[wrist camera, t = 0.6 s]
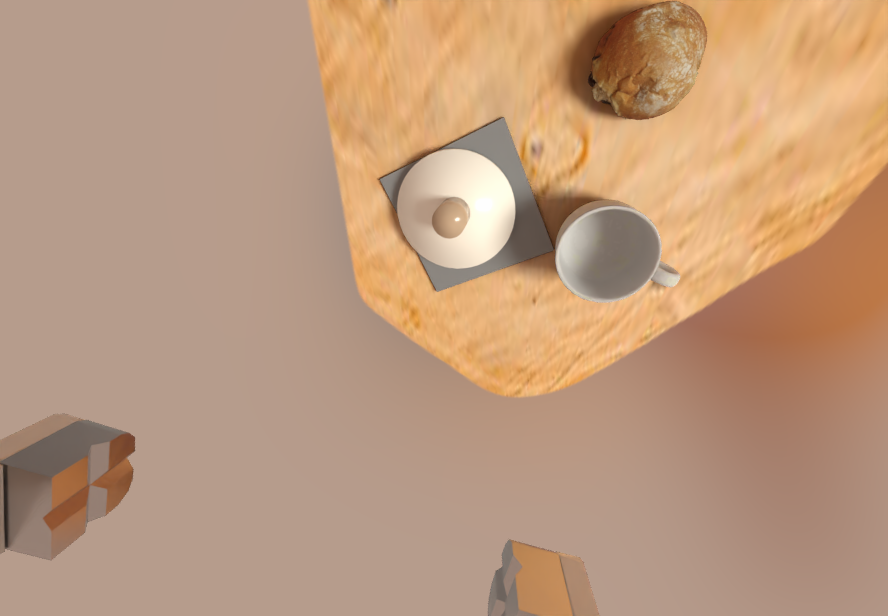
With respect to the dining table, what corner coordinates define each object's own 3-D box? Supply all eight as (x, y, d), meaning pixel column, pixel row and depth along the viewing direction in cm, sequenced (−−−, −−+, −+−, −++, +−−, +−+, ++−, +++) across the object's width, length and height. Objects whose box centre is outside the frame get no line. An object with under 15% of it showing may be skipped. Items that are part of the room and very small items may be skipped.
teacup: (536, 246, 53) (535, 270, 46) (591, 172, 48) (599, 186, 41) (624, 302, 54) (636, 333, 48) (688, 235, 49) (712, 260, 42)
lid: (487, 125, 48) (481, 129, 43) (533, 241, 53) (532, 256, 48) (379, 179, 53) (364, 188, 49) (431, 279, 58) (421, 295, 54)
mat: (503, 117, 47) (503, 117, 47) (553, 249, 53) (553, 250, 53) (380, 178, 53) (379, 179, 53) (437, 290, 59) (437, 291, 59)
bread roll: (658, 115, 47) (714, 117, 40) (576, 122, 45) (620, 126, 38) (676, 9, 43) (743, -9, 36) (585, 11, 41) (637, -6, 34)
